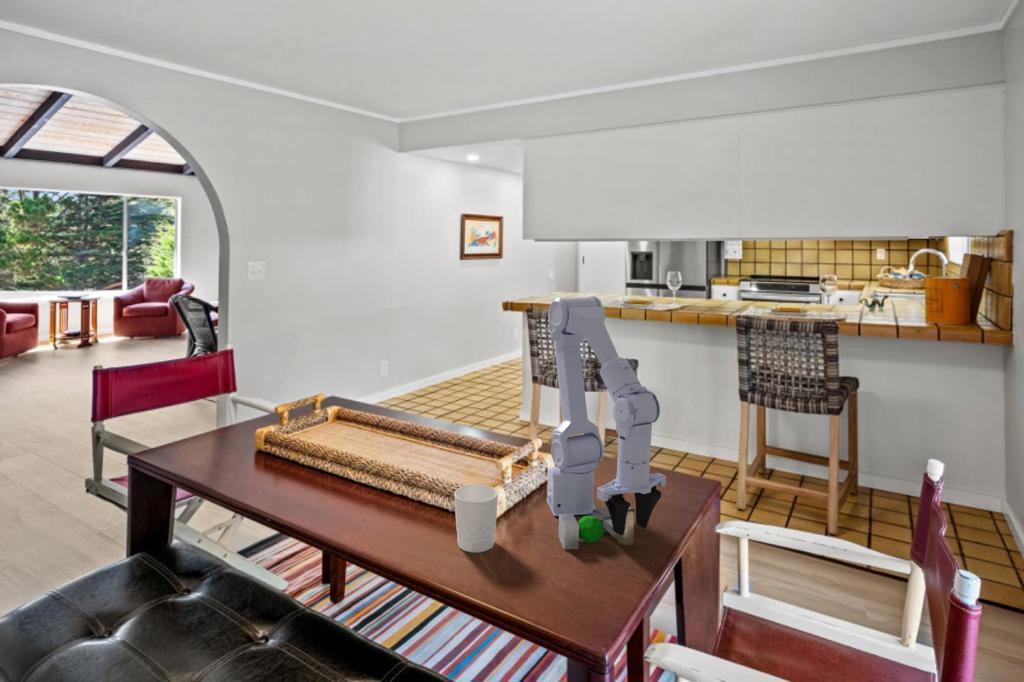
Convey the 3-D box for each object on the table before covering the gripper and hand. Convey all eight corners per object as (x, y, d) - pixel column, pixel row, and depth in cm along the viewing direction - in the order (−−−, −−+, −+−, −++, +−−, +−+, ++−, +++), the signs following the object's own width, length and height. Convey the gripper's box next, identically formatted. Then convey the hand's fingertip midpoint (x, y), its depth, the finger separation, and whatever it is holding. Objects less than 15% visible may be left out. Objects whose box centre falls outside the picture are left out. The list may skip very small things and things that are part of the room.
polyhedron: (580, 548, 111) (581, 524, 111) (572, 536, 116) (573, 512, 115) (606, 546, 112) (607, 522, 112) (597, 534, 117) (598, 510, 116)
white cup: (497, 533, 117) (497, 484, 115) (497, 554, 109) (498, 501, 107) (455, 533, 117) (455, 484, 115) (453, 555, 109) (453, 502, 107)
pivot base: (594, 535, 117) (594, 530, 117) (588, 524, 121) (588, 519, 121) (618, 533, 117) (618, 528, 117) (610, 522, 122) (611, 518, 122)
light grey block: (564, 549, 111) (564, 526, 110) (558, 536, 116) (559, 514, 115) (578, 548, 111) (579, 525, 111) (571, 535, 116) (572, 513, 116)
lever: (587, 519, 120) (588, 489, 119) (607, 516, 122) (608, 486, 121) (618, 547, 110) (620, 514, 109) (639, 542, 111) (641, 510, 110)
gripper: (616, 473, 103) (613, 548, 105) (679, 458, 110) (675, 529, 112) (590, 459, 109) (588, 531, 111) (652, 446, 116) (648, 514, 118)
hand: (630, 529), depth 112 cm, fingers open, 5 cm apart
